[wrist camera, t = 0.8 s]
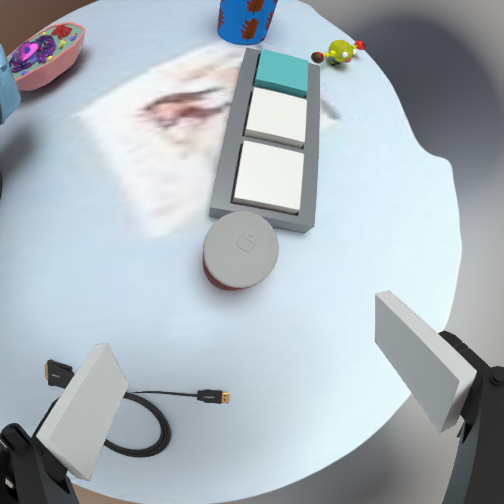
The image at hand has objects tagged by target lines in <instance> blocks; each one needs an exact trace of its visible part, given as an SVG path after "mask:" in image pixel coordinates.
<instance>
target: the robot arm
mask: <svg viewBox="0 0 504 504" xmlns="http://www.w3.org/2000/svg"><path fill="white" fill-rule="evenodd" d="M20 102H21V95H20V92H19V89H18V87H17V84H16V81H15V79H14V76H13V74H12V71H11V69H10V66H9V63H8V61H7V58H6V55H5V53H4V50H3V48H2V45H1V44H0V125H1V124H4V122H5V121H6V119H7V118H8V117H9V116H10V115H11V114H12V113H13V112H14V111H15V110H16V109H17V108H18V106H19V104H20ZM1 191H2V177H1V173H0V197H1ZM375 343H376V344H377V345H378V347H379V348H380V349H381V351H382V352H383V353H384V355H385V356H386V357H387V359H388V360H389V362H390V363H391V364H392V366H393V367H394V368H395V370H396V371H397V373H398V374H399V375H400V377H401V378H402V380H403V381H404V382H405V384H406V385H407V387H408V388H409V390H410V391H411V392H412V394H413V395H414V396H415V398H416V399H417V401H418V402H419V404H420V405H421V407H422V408H423V410H424V411H425V413H426V414H427V416H428V417H429V418H430V420H431V422H432V423H433V424H434V426H435V427H436V429H437V431H438V432H439V433H441V432H443V431H445V430H447V429H449V428H450V427H452V426H454V425H456V423H457V420H458V418H459V416H460V415H461V416H462V417H463V419H464V420H465V421H464V423H463V425H462V427H461V429H460V431H459V433H458V435H457V437H460V441H459V446H458V451H457V455H456V459H455V463H454V467H453V471H452V474H451V478H450V481H449V485H448V488H447V491H446V494H445V497H444V500H443V502H442V504H504V367H500V366H496V367H492V368H491V367H489V366H488V365H487V364H486V363H485V362H484V361H483V360H482V359H481V358H480V357H479V356H477V354H476V353H474V352H473V351H472V350H471V349H470V348H468V346H467V345H466V344H465V343H462V341H461V340H460V339H459V338H458V337H457V336H456V335H454V334H451V333H449V332H447V331H442V332H440V333H437V332H436V331H435V330H433V329H432V328H431V327H430V326H429V325H428V324H427V323H426V322H425V321H424V320H423V319H421V318H420V317H419V316H418V315H417V314H416V313H415V312H414V311H412V310H411V309H410V308H409V307H408V306H407V305H406V304H405V303H403V302H402V301H401V300H400V299H399V298H398V297H396V296H395V295H394V294H393V293H392V292H391V291H389V290H388V291H385V292H381V293H378V294H375ZM128 385H129V384H128V382H127V380H126V378H125V376H124V374H123V372H122V371H121V369H120V367H119V365H118V363H117V361H116V359H115V357H114V355H113V353H112V351H111V348H110V346H109V344H108V343H104V344H96V345H95V347H94V348H93V349H92V351H91V352H90V354H89V355H88V356H87V358H86V359H85V361H84V362H83V364H82V365H81V367H80V368H79V369H78V371H77V372H76V374H75V375H74V377H73V378H72V380H71V381H70V383H69V384H68V386H67V387H66V389H65V390H64V392H63V393H62V395H61V396H60V397H59V398H58V399H57V400H55V401H54V402H53V403H52V405H51V406H50V408H49V410H48V412H47V413H46V414H45V416H44V417H45V418H43V419H42V421H41V422H40V424H39V426H38V427H37V429H36V430H35V432H34V434H33V435H32V437H31V438H30V437H29V436H28V434H27V433H26V432H25V431H24V429H23V428H22V427H21V426H20V425H19V424H17V423H12V424H9V425H7V426H6V427H5V428H4V429H3V430H2V432H1V433H0V439H1V441H2V442H3V443H4V444H5V445H6V446H7V448H6V447H5V446H4V445H3V444H2V443H1V442H0V504H79V501H78V499H77V496H76V494H75V492H74V489H73V486H72V484H71V481H70V479H69V477H68V476H67V475H66V473H67V471H69V472H70V473H71V474H73V475H74V476H75V477H76V478H79V479H83V480H87V481H90V479H91V476H92V473H93V471H94V468H95V465H96V463H97V460H98V457H99V455H100V452H101V450H102V447H103V445H104V442H105V439H106V437H107V435H108V432H109V430H110V427H111V425H112V422H113V420H114V418H115V415H116V413H117V410H118V408H119V406H120V403H121V401H122V399H123V397H124V394H125V392H126V390H127V387H128ZM460 435H461V436H460ZM6 478H7V480H9V481H10V482H11V483H12V484H13V487H12V488H10V487H9V486H8V485H7V484H5V480H6Z"/></svg>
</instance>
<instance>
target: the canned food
mask: <svg viewBox="0 0 504 504" xmlns="http://www.w3.org/2000/svg"><path fill="white" fill-rule="evenodd" d="M278 252H279V245H278V239H277V236H276V233H275V231H274V229H273V228H272V226H271V225H270V224H269V223H268V222H267V221H266V220H265V219H264V218H262V217H261V216H259V215H257V214H255V213H251V212H246V211H238V212H232V213H229V214H227V215H225V216H223V217H221V218H220V219H219V220H217V221H216V222H215V223H214V224H213V226H212V227H211V228H210V230H209V231H208V233H207V235H206V238H205V241H204V246H203V268H204V271H205V274H206V276H207V278H208V279H209V280H210V282H211V283H212V284H214V285H215V286H216V287H218V288H220V289H224V290H238V289H243V288H248V287H251V286H253V285H256V284H258V283H259V282H261V281H262V280H264V279H265V278H266V277H267V276H268V275H269V274H270V272H271V271H272V270H273V268H274V266H275V264H276V262H277V258H278Z"/></svg>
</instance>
